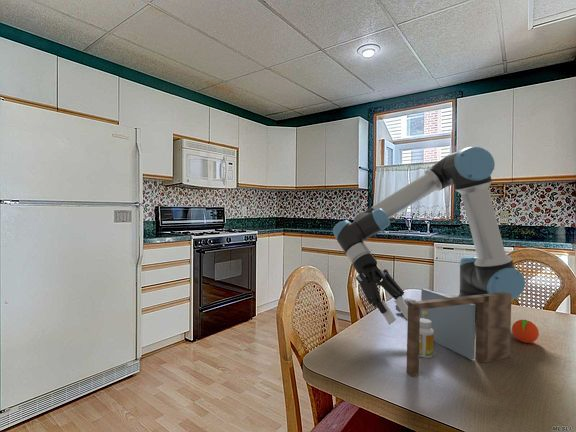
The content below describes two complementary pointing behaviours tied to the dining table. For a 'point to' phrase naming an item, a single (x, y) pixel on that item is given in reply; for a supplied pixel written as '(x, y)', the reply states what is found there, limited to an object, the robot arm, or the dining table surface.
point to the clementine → (525, 331)
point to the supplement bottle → (426, 339)
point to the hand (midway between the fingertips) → (401, 319)
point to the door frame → (489, 326)
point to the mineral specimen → (407, 305)
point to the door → (451, 324)
